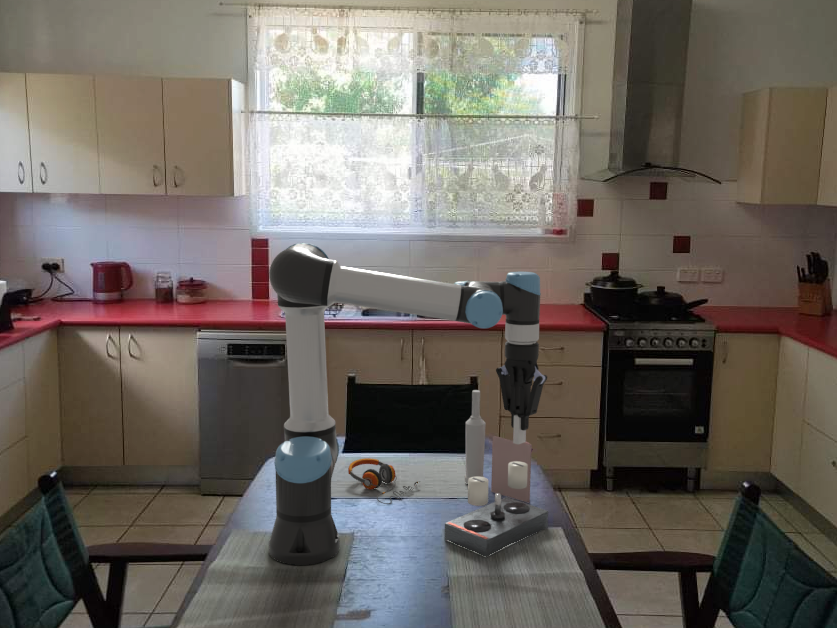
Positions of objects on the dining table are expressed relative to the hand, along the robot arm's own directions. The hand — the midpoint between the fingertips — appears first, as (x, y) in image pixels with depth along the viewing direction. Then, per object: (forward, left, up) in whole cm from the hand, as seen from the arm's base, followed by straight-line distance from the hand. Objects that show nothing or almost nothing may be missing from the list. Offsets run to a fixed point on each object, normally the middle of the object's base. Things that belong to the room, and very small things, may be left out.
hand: (519, 442), depth 185 cm
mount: (0, -7, -20) cm, 21 cm away
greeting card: (-12, +13, -20) cm, 27 cm away
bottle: (-24, +13, -20) cm, 34 cm away
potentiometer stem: (0, -7, -16) cm, 17 cm away
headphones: (-39, -7, -20) cm, 44 cm away
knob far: (0, 0, -10) cm, 10 cm away
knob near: (0, -14, -10) cm, 17 cm away
